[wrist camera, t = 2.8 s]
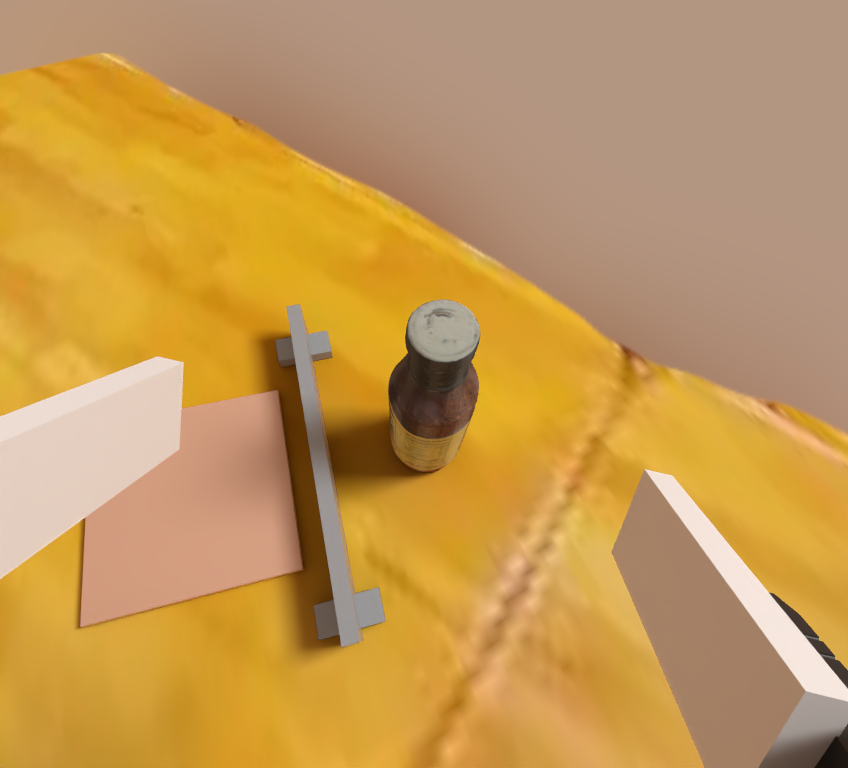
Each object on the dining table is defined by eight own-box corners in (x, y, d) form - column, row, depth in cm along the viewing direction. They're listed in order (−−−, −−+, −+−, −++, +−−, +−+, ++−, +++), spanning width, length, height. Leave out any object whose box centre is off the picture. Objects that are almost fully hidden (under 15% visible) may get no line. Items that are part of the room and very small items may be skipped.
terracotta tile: (279, 393, 45) (277, 390, 44) (304, 570, 38) (302, 569, 37) (95, 430, 42) (90, 426, 41) (86, 626, 35) (80, 627, 35)
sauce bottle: (412, 400, 45) (427, 256, 28) (470, 432, 44) (524, 304, 26) (375, 456, 43) (364, 337, 25) (435, 492, 41) (469, 395, 24)
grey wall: (327, 330, 48) (320, 300, 44) (387, 632, 36) (387, 633, 32) (276, 339, 47) (265, 310, 43) (322, 651, 35) (312, 655, 31)
